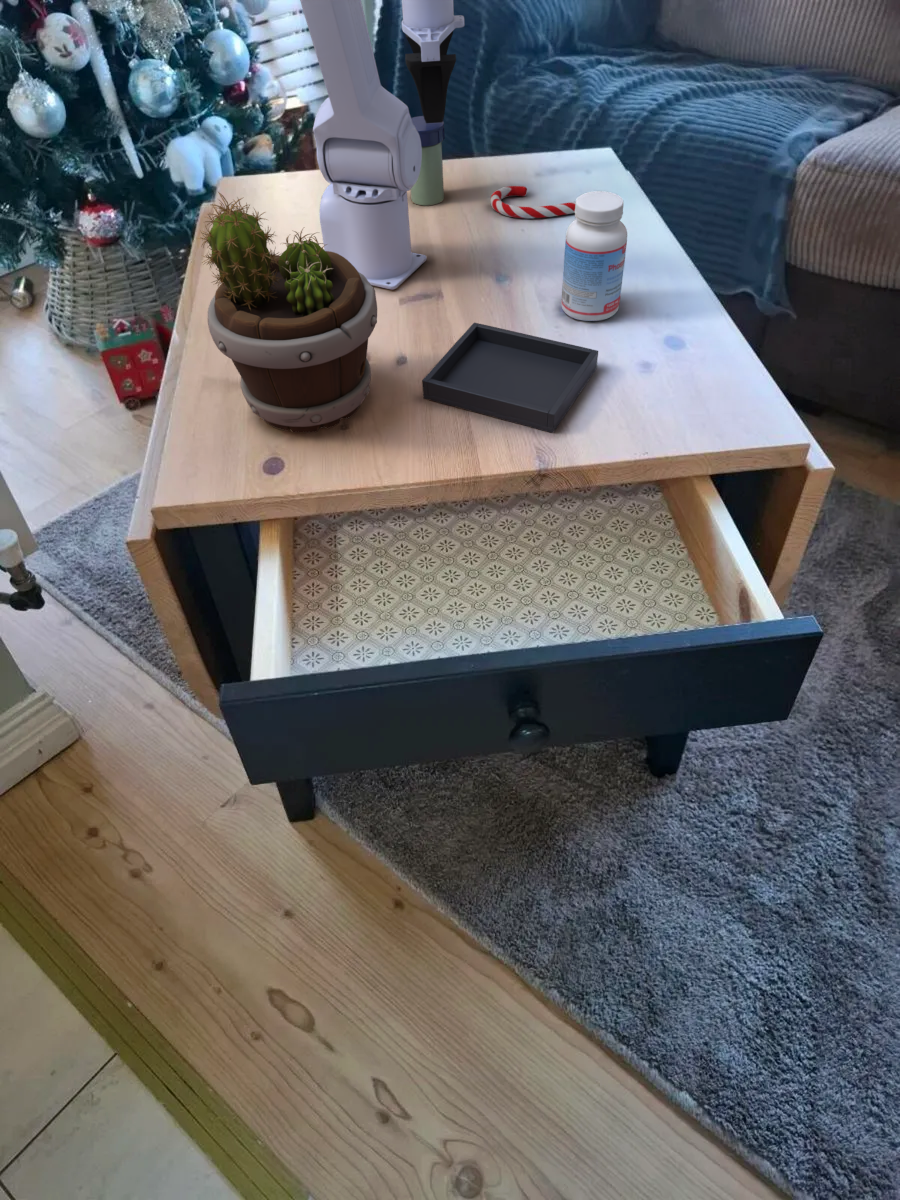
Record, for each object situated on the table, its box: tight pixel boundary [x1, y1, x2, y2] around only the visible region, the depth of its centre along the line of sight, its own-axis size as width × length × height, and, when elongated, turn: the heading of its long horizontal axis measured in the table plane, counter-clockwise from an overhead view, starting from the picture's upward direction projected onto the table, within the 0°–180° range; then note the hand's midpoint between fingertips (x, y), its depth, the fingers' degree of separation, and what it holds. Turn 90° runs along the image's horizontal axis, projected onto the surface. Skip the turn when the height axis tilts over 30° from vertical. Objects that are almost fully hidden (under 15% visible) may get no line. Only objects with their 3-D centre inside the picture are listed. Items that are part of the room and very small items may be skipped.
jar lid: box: [411, 115, 446, 147], centre depth 103 cm, size 5×5×2 cm
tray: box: [421, 322, 599, 433], centre depth 80 cm, size 13×11×2 cm
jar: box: [409, 141, 445, 206], centre depth 106 cm, size 4×4×9 cm
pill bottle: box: [560, 190, 628, 322], centre depth 85 cm, size 6×6×11 cm
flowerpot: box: [196, 191, 378, 434], centre depth 72 cm, size 14×15×20 cm
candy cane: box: [489, 185, 576, 219], centre depth 106 cm, size 8×1×15 cm
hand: (433, 109), depth 101 cm, fingers open, 7 cm apart
